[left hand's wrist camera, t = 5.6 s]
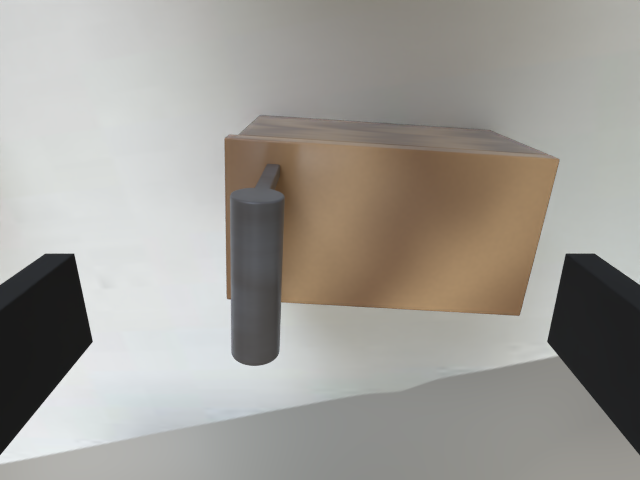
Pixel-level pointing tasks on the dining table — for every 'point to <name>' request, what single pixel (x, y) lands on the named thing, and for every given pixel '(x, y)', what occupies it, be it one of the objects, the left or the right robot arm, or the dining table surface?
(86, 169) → the dining table surface
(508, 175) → the lid
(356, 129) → the chest
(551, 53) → the dining table surface
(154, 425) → the dining table surface
